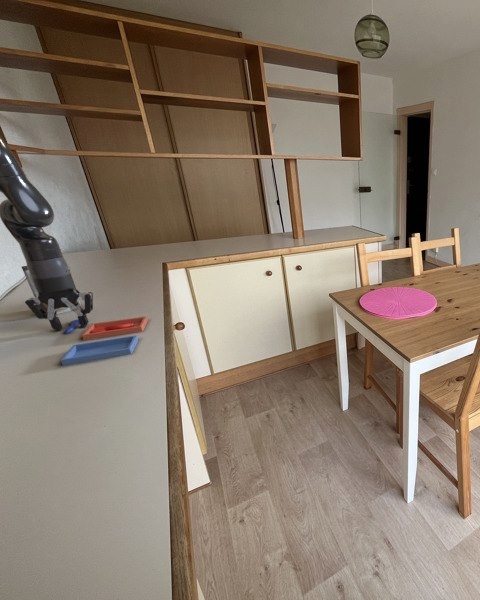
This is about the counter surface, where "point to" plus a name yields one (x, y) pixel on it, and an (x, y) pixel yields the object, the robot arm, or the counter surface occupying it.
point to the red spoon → (112, 328)
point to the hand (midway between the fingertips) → (72, 327)
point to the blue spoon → (72, 326)
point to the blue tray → (100, 350)
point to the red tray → (138, 327)
